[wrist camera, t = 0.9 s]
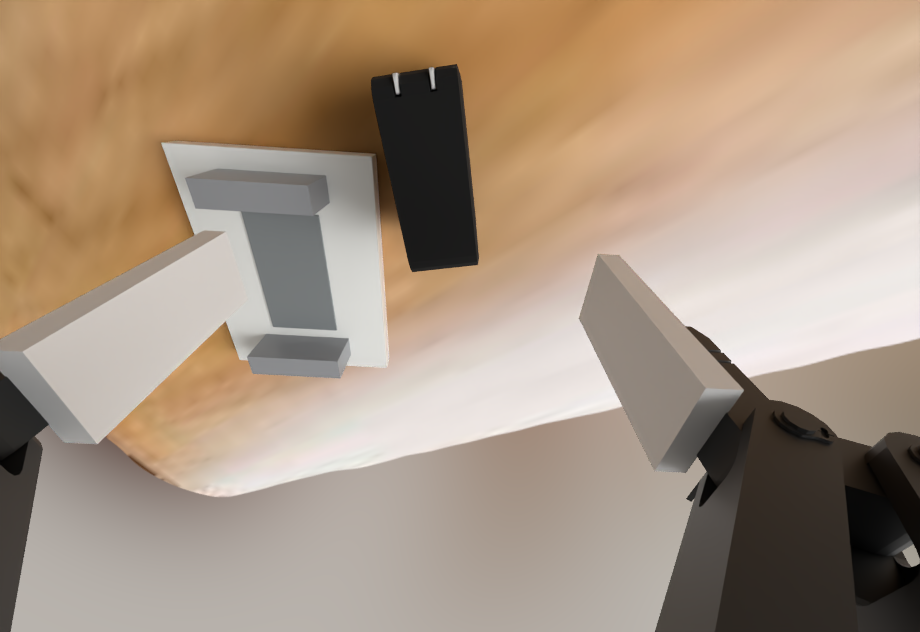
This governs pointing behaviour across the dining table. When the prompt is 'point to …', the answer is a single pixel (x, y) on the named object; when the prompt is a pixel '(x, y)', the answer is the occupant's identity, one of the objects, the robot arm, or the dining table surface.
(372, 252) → the mounting board
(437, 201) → the electronic device
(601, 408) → the dining table surface
